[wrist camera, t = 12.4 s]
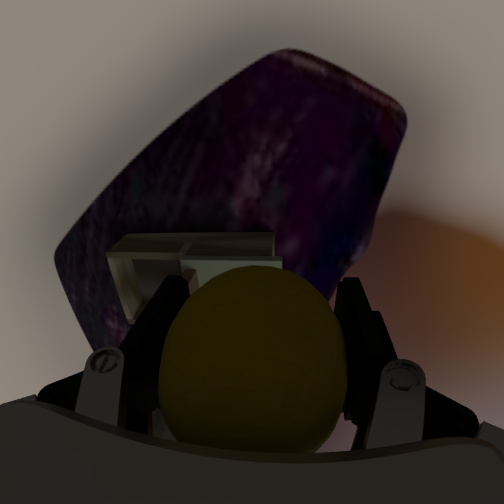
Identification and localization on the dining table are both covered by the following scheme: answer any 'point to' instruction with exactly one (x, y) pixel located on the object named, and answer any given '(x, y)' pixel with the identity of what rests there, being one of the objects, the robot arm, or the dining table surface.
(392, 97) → the dining table surface
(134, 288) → the beige box
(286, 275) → the lemon
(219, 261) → the cover
